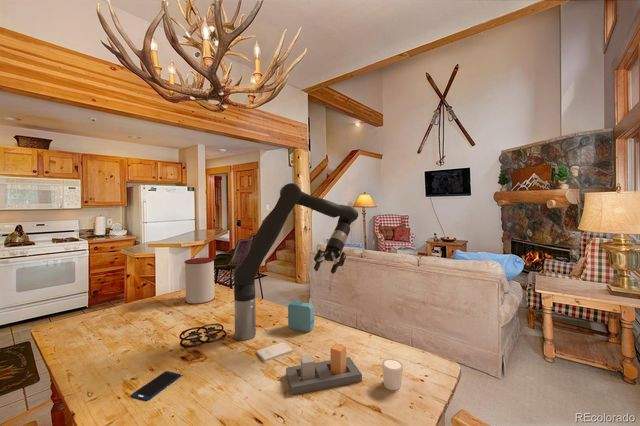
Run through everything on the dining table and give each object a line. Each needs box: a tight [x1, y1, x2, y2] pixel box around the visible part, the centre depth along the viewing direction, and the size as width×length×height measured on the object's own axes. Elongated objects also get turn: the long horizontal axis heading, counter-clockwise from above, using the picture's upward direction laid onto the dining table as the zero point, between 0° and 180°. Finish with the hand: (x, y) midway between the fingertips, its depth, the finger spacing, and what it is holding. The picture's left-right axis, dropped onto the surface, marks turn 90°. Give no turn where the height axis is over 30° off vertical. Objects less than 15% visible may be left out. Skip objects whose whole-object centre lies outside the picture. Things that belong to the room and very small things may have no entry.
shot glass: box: [381, 358, 404, 391], centre depth 94 cm, size 7×7×7 cm
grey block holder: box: [285, 354, 363, 396], centre depth 97 cm, size 24×11×8 cm, turn 106°
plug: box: [330, 342, 347, 375], centre depth 99 cm, size 4×4×10 cm
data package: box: [287, 300, 315, 333], centre depth 136 cm, size 12×4×12 cm, turn 66°
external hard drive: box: [255, 341, 294, 363], centre depth 114 cm, size 2×8×12 cm
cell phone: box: [130, 370, 182, 402], centre depth 94 cm, size 7×14×1 cm, turn 162°
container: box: [184, 257, 216, 305], centre depth 177 cm, size 17×17×25 cm
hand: (323, 271), depth 123 cm, fingers open, 8 cm apart
